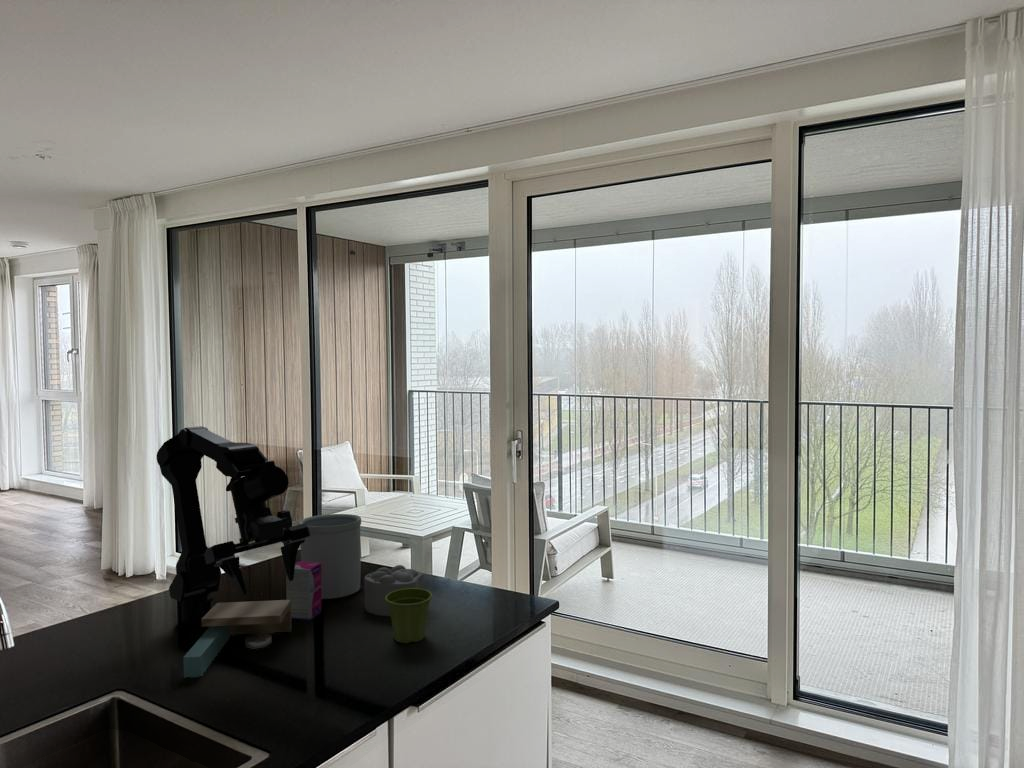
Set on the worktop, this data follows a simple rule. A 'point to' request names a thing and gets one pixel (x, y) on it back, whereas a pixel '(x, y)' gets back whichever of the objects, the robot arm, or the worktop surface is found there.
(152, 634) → the worktop surface
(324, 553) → the utensil holder
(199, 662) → the dark grey-teal rectangular block
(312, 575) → the supplement box
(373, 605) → the lumpy-topped squat cylinder
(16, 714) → the worktop surface
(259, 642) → the steel token
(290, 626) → the oak plinth shelf
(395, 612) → the plant pot
